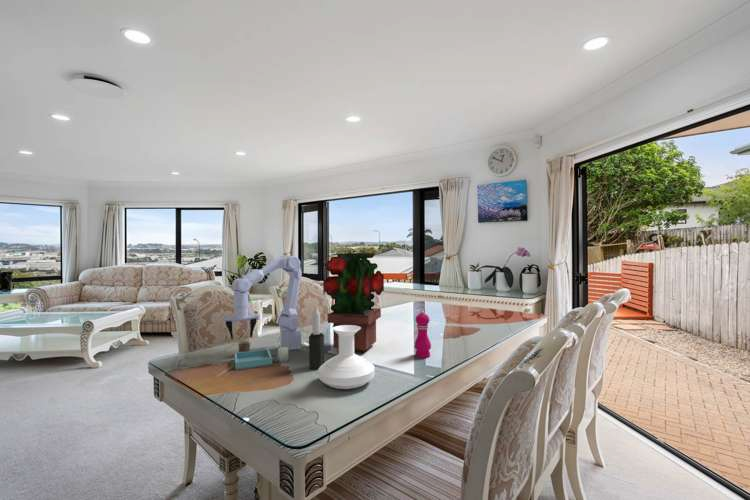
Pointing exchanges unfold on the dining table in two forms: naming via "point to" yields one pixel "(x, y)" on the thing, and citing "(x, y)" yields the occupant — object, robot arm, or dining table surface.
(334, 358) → the white vase
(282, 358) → the sage cylinder
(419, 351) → the pepper mill
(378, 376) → the dining table surface
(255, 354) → the tray
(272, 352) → the slate block
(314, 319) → the candle
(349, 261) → the potted plant
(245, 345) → the walnut block
